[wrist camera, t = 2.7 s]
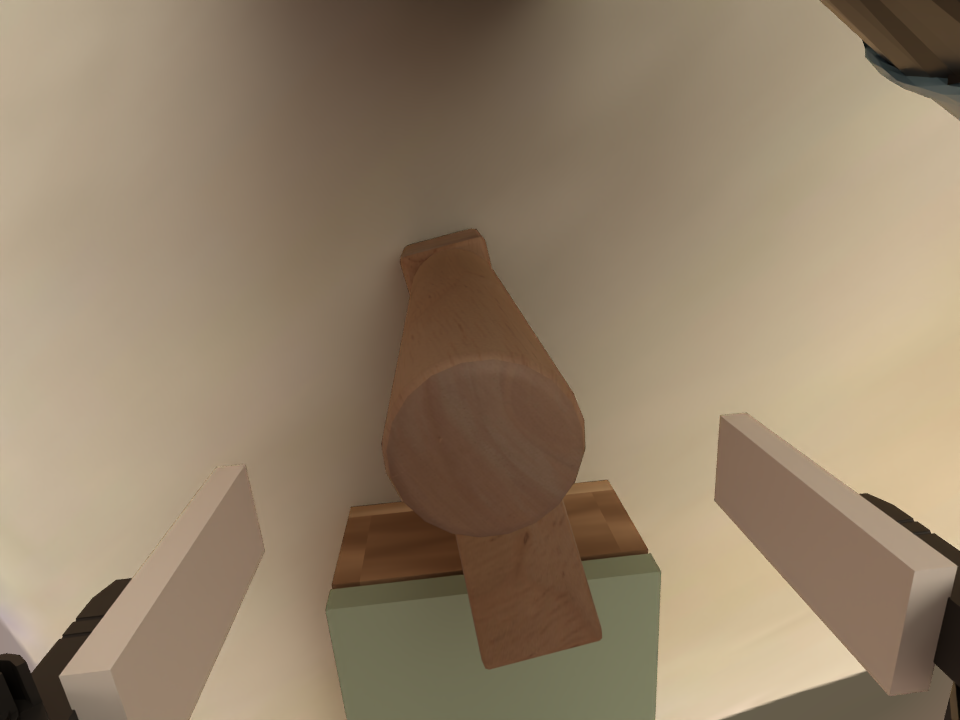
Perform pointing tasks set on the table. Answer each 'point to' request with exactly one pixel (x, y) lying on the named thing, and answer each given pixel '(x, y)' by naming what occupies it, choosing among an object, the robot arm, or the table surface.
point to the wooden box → (434, 552)
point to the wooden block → (489, 450)
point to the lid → (457, 661)
